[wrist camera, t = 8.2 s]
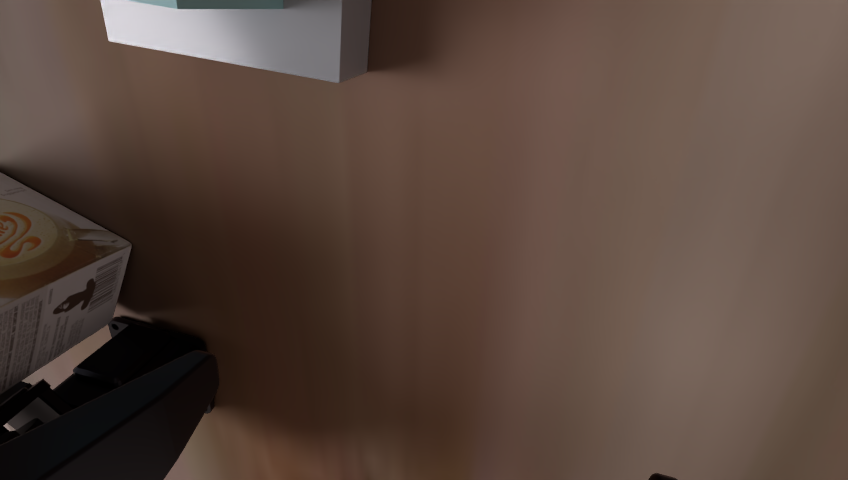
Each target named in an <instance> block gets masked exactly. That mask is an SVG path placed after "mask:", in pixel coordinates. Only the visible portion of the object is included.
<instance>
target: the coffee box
mask: <svg viewBox="0 0 848 480" xmlns="http://www.w3.org/2000/svg"><path fill="white" fill-rule="evenodd" d="M131 248H132V244H131V243H130V242H128V241H127V240H125V239H123V238H121V237H120V236H118V235H116V234H114V233H112V232H110V231H108V230H106V229H104V228H103V227H101V226H99V225H97V224H95V223H93V222H92V221H90V220H88V219H86V218H84V217H82V216H81V215H79V214H77V213H75V212H73V211H71V210H69V209H68V208H66V207H64V206H62V205H60V204H58V203H57V202H55V201H53V200H51V199H49V198H47V197H45V196H44V195H42V194H40V193H38V192H36V191H34V190H32V189H31V188H29V187H27V186H25V185H23V184H21V183H19V182H18V181H16V180H14V179H12V178H10V177H8V176H6V175H5V174H3V173H1V172H0V394H2V393H4V392H5V391H7V390H8V389H10V388H11V387H13V386H14V385H16V384H17V383H19V382H20V381H22V380H23V379H25V378H26V377H28V376H29V375H31V374H32V373H34V372H35V371H37V370H38V369H40V368H41V367H43V366H45V365H46V364H48V363H49V362H51V361H52V360H54V359H56V358H57V357H59V356H60V355H61V354H63V353H64V352H66V351H67V350H69V349H70V348H72V347H73V346H75V345H77V344H78V343H80V342H81V341H82V340H84V339H86V338H87V337H89V336H91V335H92V334H94V333H95V332H97V331H98V330H100V329H101V328H103V327H104V326H106V325H107V324H109V323H110V322H111V320H112V318H113V315H114V311H115V307H116V304H117V300H118V296H119V293H120V289H121V285H122V281H123V278H124V274H125V270H126V266H127V262H128V259H129V255H130V251H131Z"/></svg>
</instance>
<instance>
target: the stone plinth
mask: <svg viewBox="0 0 848 480" xmlns="http://www.w3.org/2000/svg"><path fill="white" fill-rule="evenodd" d="M371 3H372V0H283V8H284V9H174V8H168V7H162V6H156V5H150V4H144V3H138V2H132V1H127V0H101V5H102V10H103V14H104V19H105V24H106V29H107V34H108V39H109V41H112V42H117V43H123V44H128V45H134V46H139V47H144V48H150V49H155V50H161V51H166V52H172V53H177V54H183V55H188V56H194V57H199V58H205V59H210V60H216V61H221V62H227V63H232V64H238V65H243V66H249V67H254V68H260V69H265V70H271V71H276V72H281V73H287V74H292V75H298V76H303V77H309V78H314V79H320V80H325V81H331V82H336V83H340V82H343V81H346V80H348V79H351V78H353V77H356V76H358V75H361V74H364V73H366V72H367V64H368V49H369V34H370V18H371Z"/></svg>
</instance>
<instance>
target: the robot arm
mask: <svg viewBox="0 0 848 480" xmlns="http://www.w3.org/2000/svg"><path fill="white" fill-rule="evenodd" d="M108 326H109V330H110V333H111V336H112V339H110V340H109V341H108V342H107V343H105V344H104V345H103V346H102V347H100V348H99V349H98V350H97V351H95V352H94V353H93V354H91V355H90V356H89V357H88V358H86V359H85V360H84V361H83V362H81V363H80V364H79V365H78V366H76V367H75V368H74V369H73V372H74V373H73V374H72V375H71V376H70V377H68V378H67V379H66V380H65V381H63V382H62V383H61V384H60V385H58V386H57V387H56V388H55V389H53V390H52V389H51V388H50V386H51V385H50V384H48V383H47V382H46V381H45V380H44V379H42V380H41V381H39V382H37V383H36V384H34V385H33V386H32V385H31V384H30V383H25V382H22V381H20V382H19V383H17V384H16V385H14V386H13V387H11V388H10V389H8V390H7V391H5V392H4V393H2V394H0V480H163V479H164V478H165V477H166V475H167V474H168V472H169V471H170V470H171V468H172V467H173V465H174V464H175V462H176V461H177V459H178V458H179V456H180V454H181V453H182V451H183V449H184V448H185V446H186V444H187V443H188V441H189V439H190V437H191V436H192V434H193V432H194V430H195V429H196V427H197V425H198V423H199V422H200V420H201V418H202V417H203V415H204V413H210V412H211V411H212V409H213V408H214V399H213V397H214V396H215V394H216V392H217V390H218V387H219V373H218V366H217V359H216V357H215V355H214V354H212V353H208V352H206V346H205V343H204V342H203V341H202V340H201V339H199V338H196V337H192V336H188V335H184V334H181V333H177V332H173V331H169V330H166V329H162V328H158V327H154V326H151V325H147V324H143V323H139V322H136V321H132V320H128V319H124V318H121V317H114V318H113V319H112V320H111V322H110V323H109V324H108ZM6 423H8V424H9V425H11V426H12V427H13V428H14V429H16V431H9V430H7V429H6V428H5V427H4V426H3V425H5V424H6ZM649 480H677V479H676V478H673V477H670V476H666V475H662V474H659V473H655V474H652V475H651V476H650V478H649Z"/></svg>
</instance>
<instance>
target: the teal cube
mask: <svg viewBox="0 0 848 480" xmlns="http://www.w3.org/2000/svg"><path fill="white" fill-rule="evenodd" d="M127 1H132V2H138V3H144V4H150V5H156V6H162V7H168V8H174V9H284V8H283V0H127Z"/></svg>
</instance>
